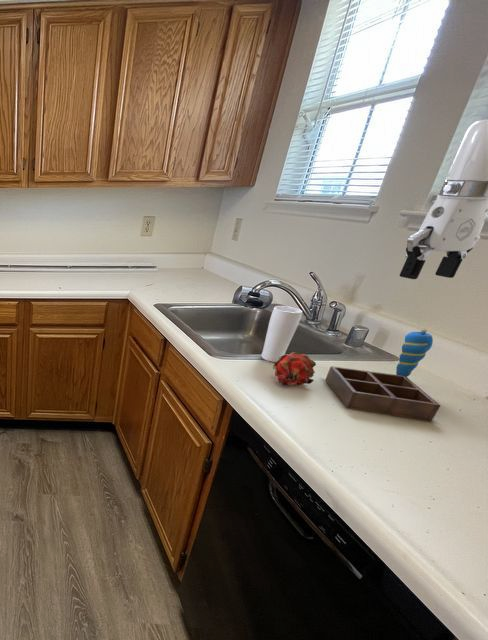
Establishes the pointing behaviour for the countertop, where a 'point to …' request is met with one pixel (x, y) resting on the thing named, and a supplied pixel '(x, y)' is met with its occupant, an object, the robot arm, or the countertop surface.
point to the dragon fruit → (294, 369)
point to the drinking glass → (280, 332)
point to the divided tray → (381, 393)
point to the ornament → (413, 351)
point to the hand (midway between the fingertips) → (425, 277)
